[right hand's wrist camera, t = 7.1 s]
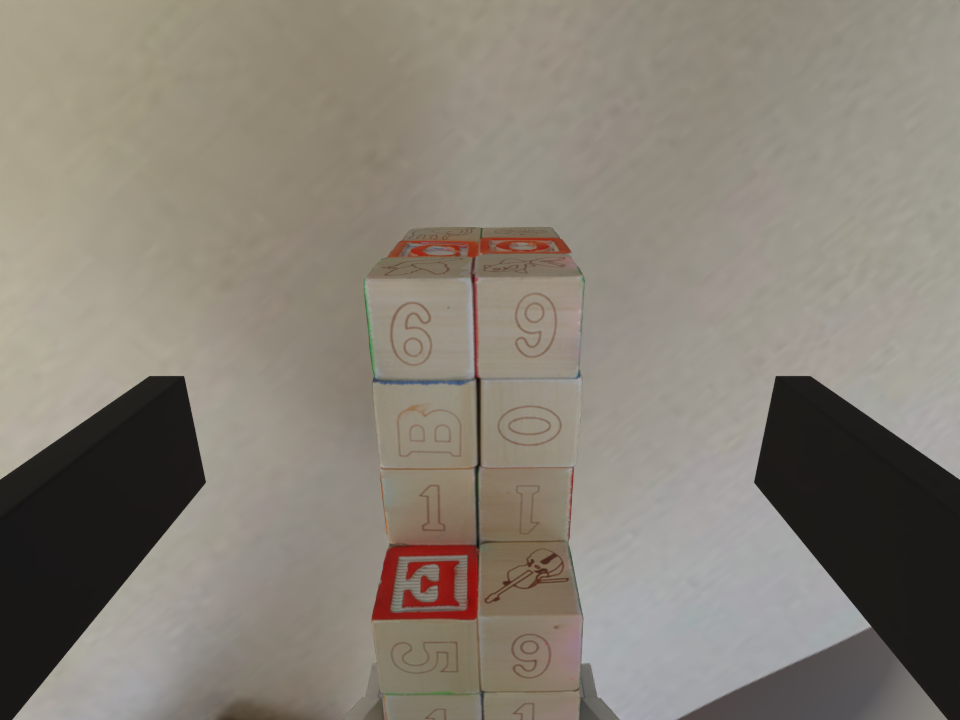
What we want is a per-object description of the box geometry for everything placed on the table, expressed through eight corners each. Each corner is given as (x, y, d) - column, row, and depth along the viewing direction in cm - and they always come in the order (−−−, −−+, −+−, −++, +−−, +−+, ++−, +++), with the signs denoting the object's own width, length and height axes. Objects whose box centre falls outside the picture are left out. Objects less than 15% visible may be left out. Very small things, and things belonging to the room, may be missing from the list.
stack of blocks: (406, 224, 24) (333, 303, 12) (554, 224, 24) (619, 302, 12) (427, 610, 32) (394, 878, 20) (537, 610, 31) (568, 878, 20)
